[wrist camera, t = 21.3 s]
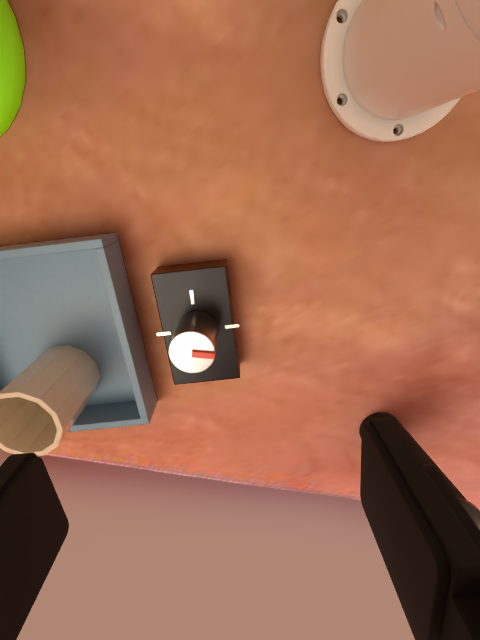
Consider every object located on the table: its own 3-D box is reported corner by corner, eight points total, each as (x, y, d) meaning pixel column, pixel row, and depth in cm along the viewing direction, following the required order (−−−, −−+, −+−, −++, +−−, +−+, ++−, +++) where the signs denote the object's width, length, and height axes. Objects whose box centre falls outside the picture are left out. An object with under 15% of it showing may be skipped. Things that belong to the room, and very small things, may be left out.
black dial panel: (151, 267, 34) (143, 275, 31) (232, 258, 34) (231, 265, 31) (173, 371, 39) (168, 386, 36) (245, 363, 38) (245, 378, 35)
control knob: (176, 346, 34) (166, 373, 29) (178, 308, 33) (168, 330, 28) (216, 349, 34) (213, 377, 29) (219, 312, 33) (217, 334, 28)
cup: (28, 349, 37) (-33, 397, 28) (90, 342, 37) (47, 388, 28) (48, 401, 39) (-2, 460, 31) (106, 395, 39) (71, 453, 31)
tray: (-59, 253, 33) (-97, 262, 30) (116, 232, 33) (101, 238, 29) (12, 416, 41) (-11, 440, 37) (157, 401, 40) (149, 424, 36)
